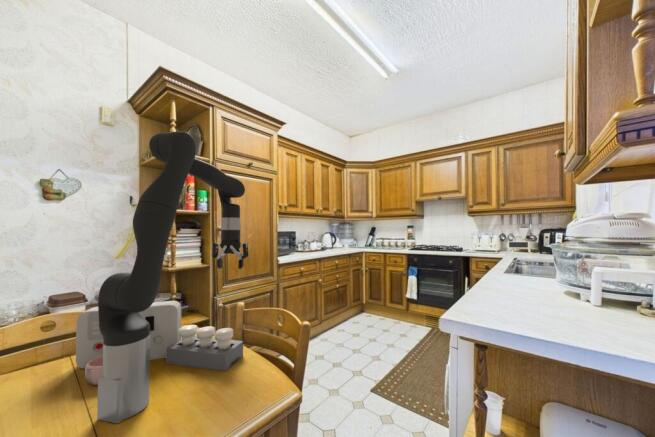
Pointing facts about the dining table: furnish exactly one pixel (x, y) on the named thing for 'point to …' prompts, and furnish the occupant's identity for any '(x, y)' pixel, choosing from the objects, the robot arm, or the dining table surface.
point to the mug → (94, 370)
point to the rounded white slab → (158, 315)
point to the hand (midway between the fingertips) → (230, 268)
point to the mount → (204, 355)
